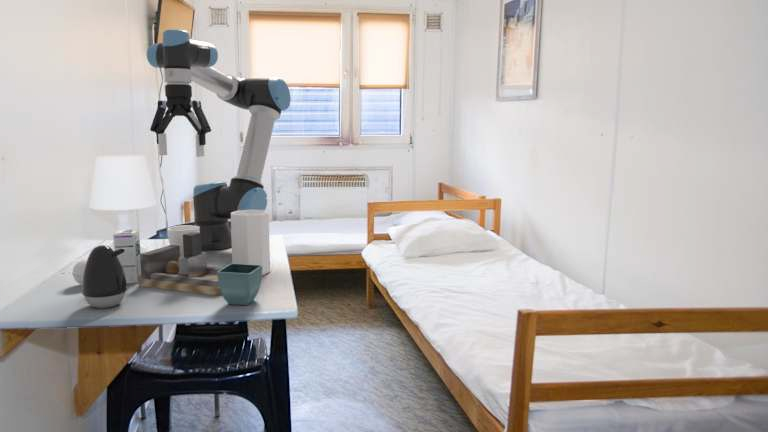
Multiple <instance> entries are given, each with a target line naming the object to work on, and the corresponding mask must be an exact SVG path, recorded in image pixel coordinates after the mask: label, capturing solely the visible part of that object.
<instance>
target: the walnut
mask: <svg viewBox="0 0 768 432" xmlns="http://www.w3.org/2000/svg"><path fill="white" fill-rule="evenodd" d="M165 271H166V273H167V274H173V275H175V274H177V273H178V272H179V264H178V263H177V262H175V261H169V262H168V263H167V264H166V265H165Z"/></svg>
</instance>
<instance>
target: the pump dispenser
mask: <svg viewBox="0 0 768 432" xmlns="http://www.w3.org/2000/svg"><path fill="white" fill-rule="evenodd" d="M123 252H125V250H124V249H123V248H122V249H119V250H116V251H114V249H113V248H111V247H110V246H108V245H104V244H102V245H101V244H100V245H98V246H95V247H93V248H92V250H91V251H90V252H89V254H88V257H87V262H86V265H85V269H84V273H83V280H82V285H81V294H82V295H83V296H84V300H85V301H86V303H87V304H88V305H90V307H93V308H96V309H109V308H112V307H115V306H117V305H119V304H120V303H121V302H122V301H123V300H124V298H125V296H126V292H127V291H128V284H127V283H126V278H125V274H124V270H123V268H122V265H121V263H120V261H119V259H118V257H117V256H118V255H120V254H122V253H123Z"/></svg>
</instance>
